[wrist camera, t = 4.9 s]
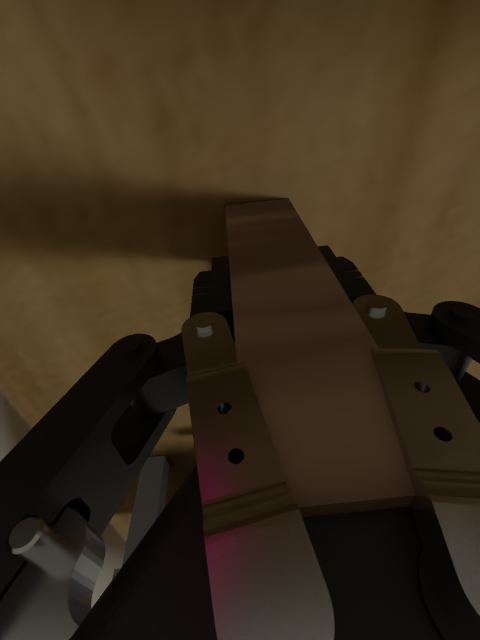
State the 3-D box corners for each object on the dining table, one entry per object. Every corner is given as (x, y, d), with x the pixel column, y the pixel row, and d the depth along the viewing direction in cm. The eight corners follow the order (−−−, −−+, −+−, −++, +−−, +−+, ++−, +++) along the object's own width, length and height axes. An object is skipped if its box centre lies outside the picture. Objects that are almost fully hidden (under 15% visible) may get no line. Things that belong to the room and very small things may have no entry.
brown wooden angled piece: (161, 212, 14) (33, 535, 4) (352, 191, 14) (681, 467, 4) (215, 434, 26) (216, 661, 16) (321, 423, 26) (388, 643, 16)
